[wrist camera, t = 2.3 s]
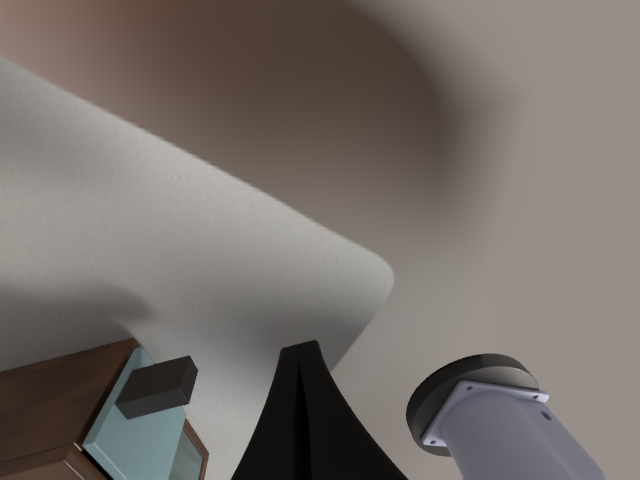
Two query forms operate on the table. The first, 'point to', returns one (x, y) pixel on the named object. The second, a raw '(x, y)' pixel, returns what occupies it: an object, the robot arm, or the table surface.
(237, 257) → the table surface
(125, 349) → the cabinet
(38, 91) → the table surface
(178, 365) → the glass door
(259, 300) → the table surface
